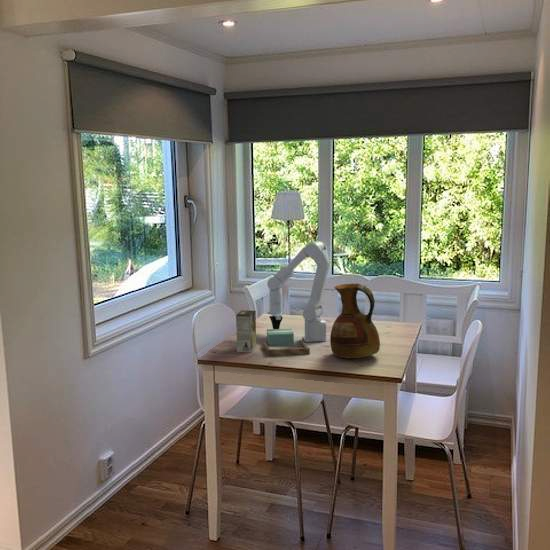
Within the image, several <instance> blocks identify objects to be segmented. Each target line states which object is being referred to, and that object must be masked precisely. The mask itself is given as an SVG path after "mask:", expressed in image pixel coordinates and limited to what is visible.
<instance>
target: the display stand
mask: <svg viewBox="0 0 550 550" xmlns="http://www.w3.org/2000/svg"><path fill="white" fill-rule="evenodd" d="M299 346H300V347H292V348H276V349H275V348H274V349H273V348H271V349H270V348H269V345H268V343H267V341H266V342H262V348H263V350H264V352H265V353H266V355H267V357H279V356H280V357H281V356H283V357H284V356H298V355H300V356H301V355H310V354H311V353H310V352H311V351H310V350H311V348H310V347H308V345H307V344H306V343H305V342H304V339H303V340H302V339H301V340H299Z"/></svg>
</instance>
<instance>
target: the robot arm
mask: <svg viewBox="0 0 550 550" xmlns="http://www.w3.org/2000/svg"><path fill="white" fill-rule="evenodd" d="M328 253H329V252H328V247H327V245H325V243H324V242H323V241H322V240H316V241H313V242H308V243H307V244H306V245H305V246H304V247H303V248H302V249H300V251H299V252H298V253H297V254H296V255H295V256H294V258H293V259H292V260H291V261H290V262H289V263H288V264H284V265H281V266H280V267H279V270H278V271H277V272H276V273H273V276H272V277H270V278H268V280H267V282H266V283H267V287H268V289H269V311H267V312H266V313H267V315H270V316H269V319H270V322H271V325H272V326H271V327H272V329H280V326H281V322H282V320H283V318H284V317H283V316H282V315H283V313H284V312H283V287H284V285H285V283H286V282H287V281H288V280H289V279H290V278H291V277H292V276H293V275H294V270H295V269H296V268H297V267H298V266H299V265H301V264H302V262H303V261H304V260H305V259H307V258H310V259H311V260H313V261H314V263H315V264H316V269H315V274H314V278H313V283H312V286H311V291H310V297H309V299H308V301H307V303H306V306H305V307H304V309H303V310H302V318H303V319H304V335H303V336H302V339H303V341H305V342H307V343H313V342H327V323H326V320H325V319H322V318H321V316H322V314H323V301H322V299H323V294H324V290H325V286H326V281H327V278H328V272H329V268H330V264H331V261H330V258H329V257H330V256H329V255H328Z"/></svg>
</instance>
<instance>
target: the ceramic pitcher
mask: <svg viewBox="0 0 550 550" xmlns="http://www.w3.org/2000/svg"><path fill="white" fill-rule="evenodd" d="M334 289H335V291H337V293H339V295H340V300H341V307H342V308H341V313H340V314H339V315H338V316H337V317H336V319H335V320H334V322H333V324H332V327H331V330H330V337H329V338H330V339H329V340H330V341H329V342H330V349H331V352H332V354H333V355H335V356H336V357H339V358H346V359H357V358H365V357H366V358H367V357H369V356H374V355H375V354H377V353H378V352H379V351H380V349H381V348H380V347H381V341H380V340H381V339H380V335H379V332H378V329H377V327H376V325H375V324H374V322H373V320H372V317H373V316H372V315H373V312H374V309H375V302H376V301H375V297H374V295H373V292H372V290H371V289H370V288H368V287H367V286H366V285H362V284H361V283H345V284H343V283H342V284H338V285H335V286H334ZM358 291H360V292H362V293H364V294H365V295H366V297H367V298H368V301H369V310H368V312H367V314H365V313H363V312H362V310H360V309H359V306H358V301H357V300H358V299H357V295H358Z"/></svg>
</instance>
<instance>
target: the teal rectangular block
mask: <svg viewBox="0 0 550 550" xmlns="http://www.w3.org/2000/svg"><path fill="white" fill-rule="evenodd" d="M294 340H295V339H294V331H293V330H292V328H279V329H273V328H272V329H268V328H267V329H266V343H267V346H280V345H281V346H282V345H294V344H295V342H294Z"/></svg>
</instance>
